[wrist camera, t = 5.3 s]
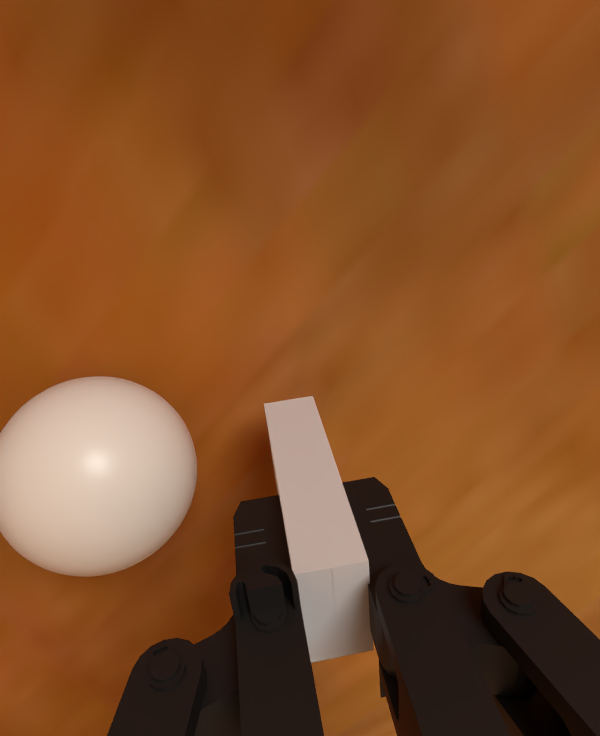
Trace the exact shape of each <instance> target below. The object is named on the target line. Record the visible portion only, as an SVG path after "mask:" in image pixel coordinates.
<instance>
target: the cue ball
mask: <svg viewBox="0 0 600 736" xmlns="http://www.w3.org/2000/svg"><path fill="white" fill-rule="evenodd" d="M196 480H197V459H196V453H195V448H194V444H193V441H192V438H191V435H190V433H189V431H188V429H187V427H186V425H185V423H184V421H183V420H182V418H181V417H180V415H179V414H178V413H177V411H176V410H175V409H174V408H173V407H172V406H171V405H170V404H169V403H168V402H167V401H166V400H165V399H163V398H162V397H161V396H159V395H158V394H157V393H155V392H154V391H152V390H150V389H148V388H146V387H144V386H142V385H140V384H137V383H135V382H132V381H129V380H125V379H121V378H115V377H104V376H94V377H83V378H78V379H73V380H69V381H66V382H63V383H60V384H57V385H55V386H53V387H50V388H48V389H46V390H45V391H43V392H41V393H40V394H38V395H36V396H35V397H33V398H32V399H31V400H29V401H28V402H27V403H26V404H24V405H23V406H22V407H21V408H20V409H19V410H18V411H17V412H16V413H15V414H14V415H13V416H12V418H11V419H10V420H9V422H8V423H7V424H6V426H5V427H4V428H3V430H2V431H1V433H0V532H1V534H2V535H3V537H4V538H5V539H6V540H7V541H8V543H9V544H10V545H11V546H12V547H13V548H14V549H15V550H16V551H17V552H18V553H19V554H20V555H22V556H23V557H24V558H26V559H27V560H29V561H30V562H32V563H34V564H36V565H37V566H39V567H42V568H44V569H46V570H48V571H52V572H55V573H58V574H64V575H69V576H81V577H87V576H100V575H106V574H111V573H115V572H118V571H121V570H124V569H126V568H129V567H131V566H133V565H135V564H137V563H139V562H141V561H143V560H144V559H146V558H147V557H149V556H151V555H152V554H153V553H155V552H156V551H157V550H158V549H160V548H161V547H162V546H163V545H164V544H165V543H166V542H167V541H168V540H169V539H170V537H171V536H172V535H173V534H174V533H175V531H176V530H177V529H178V528H179V526H180V524H181V523H182V521H183V519H184V518H185V516H186V514H187V511H188V509H189V507H190V505H191V502H192V499H193V495H194V491H195V487H196Z"/></svg>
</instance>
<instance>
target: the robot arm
mask: <svg viewBox="0 0 600 736" xmlns="http://www.w3.org/2000/svg"><path fill="white" fill-rule="evenodd" d="M264 407H265V414H266V420H267V427H268V434H269V440H270V447H271V454H272V460H273V467H274V474H275V480H276V486H277V492H278V495H276V496H271V497H265V498H259V499H253V500H248V501H242V502H241V503H240V505H239V507H238V509H237V511H236V513H235V515H234V534H235V555H236V577H235V578H234V579H233V581H232V582H231V586H230V592H229V596H230V600H231V605H232V609H233V613H234V614H233V616H232V617H231V619H230V620H229V622H228V623H227V624H226V625H225V626H224V627H223V628H222V629H221V630H219V631H218V632H216V633H215V634H213V635H212V636H210V637H208V638H206V639H204V640H202V641H200V642H198V643H196V644H195V645H193V644H192V643H191V642H190V641H188V640H183V639H179V638H174V639H168V640H163V641H161V642H159V643H157V644H155V645H153V646H151V647H150V648H149V649H148V650H147V651H146V652H144V653H143V654H142V655H141V656H140V657H139V659H138V661H137V662H136V664H135V666H134V668H133V669H132V672H131V674H130V677H129V679H128V682H127V685H126V687H125V690H124V693H123V695H122V698H121V701H120V703H119V706H118V708H117V711H116V714H115V716H114V719H113V722H112V724H111V727H110V729H109V732H108V735H107V736H324V733H323V728H322V722H321V716H320V711H319V705H318V700H317V694H316V688H315V683H314V677H313V672H312V666H311V663H312V662H317V661H322V660H327V659H332V658H336V657H341V656H346V655H351V654H356V653H361V652H366V651H371V650H373V640H374V644H375V647H376V651H377V654H378V657H379V675H380V692H381V697H386V698H387V702H388V705H389V709H390V712H391V716H392V719H393V723H394V726H395V729H396V733H397V736H600V640H599V639H598V638H597V637H596V636H595V635H594V634H593V633H592V632H591V631H590V630H589V629H588V628H587V627H586V626H585V625H584V624H583V623H582V622H581V621H580V620H579V619H578V618H577V617H576V616H575V615H574V614H573V613H572V612H571V611H570V610H569V609H568V608H567V607H566V606H565V605H564V604H562V603H561V602H560V601H559V600H558V599H557V598H556V597H555V596H554V595H553V594H552V593H551V592H550V591H549V590H548V589H547V588H546V587H545V586H544V585H542V584H541V583H540V582H538V581H537V580H536V579H534V578H532V577H530V576H527V575H524V574H522V573H516V572H503V573H499V574H495V575H493V576H492V577H491V578H489V579H488V580H487V581H486V583H485V585H484V587H483V588H481V587H470V586H460V585H455V584H450V583H447V582H445V581H442V580H440V579H438V578H437V577H435V576H434V575H433V574H432V573H431V572H429V571H428V570H427V569H426V568H425V567H424V565H423V564H422V562H421V560H420V558H419V556H418V554H417V552H416V549H415V547H414V545H413V543H412V541H411V538H410V536H409V534H408V532H407V530H406V527H405V525H404V523H403V521H402V519H401V518H400V514H399V512H398V510H397V507H396V506H395V503H394V501H393V499H392V496H391V494H390V492H389V490H388V488H387V487H386V486H384V485H383V484H382V483H381V482H380V481H378V480H377V479H376V478H375V477H372V478H366V479H360V480H355V481H349V482H343V483H342V481H341V478H340V475H339V472H338V469H337V466H336V463H335V460H334V457H333V454H332V451H331V448H330V445H329V442H328V440H327V437H326V434H325V431H324V428H323V425H322V422H321V419H320V416H319V413H318V410H317V407H316V404H315V401H314V398H313V396H310V397H303V398H297V399H291V400H285V401H278V402H272V403H266V404H264Z"/></svg>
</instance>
